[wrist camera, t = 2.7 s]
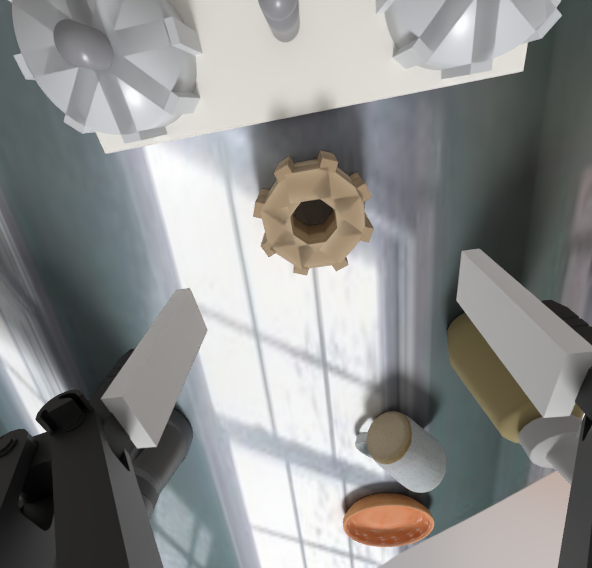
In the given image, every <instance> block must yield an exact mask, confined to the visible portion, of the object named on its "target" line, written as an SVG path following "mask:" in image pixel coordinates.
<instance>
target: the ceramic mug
mask: <svg viewBox="0 0 592 568" xmlns="http://www.w3.org/2000/svg"><path fill="white" fill-rule="evenodd" d="M365 443H367V444H365ZM355 444H356V448H357V449H358V450H359V451H360V452H361V453H363V454H365V455H366V456H368V457H371V458H373V459H374V460H375V462H376V463H377V464H378V465H379V466H380V467H381V468H383V469H384V470H385V471H387V472H388V473H389V474H390V475H391V476H392V477H394V478H395V479H396V480H397V481H398V482H399V483H401V484H402V485H403V486H404V487H406V488H407V489H409V490H411V491H413V492H417V493H424V492H428V491H431V490H432V489H434V488H435V487H436V486H438V485H439V483H440V482H441V481H442V479H443V476H444V474H445V470H446V457H445V453H444V451H443V448H442V446H441V445H440V443H439V442H438V441H437V440H436V439H435V438H434V437H433V436H431V435H430V434H429V433H428V432H426V431H425V430H424V429H423V428H422V427H420V426H419V425H418V424H417V423H415V422H414V421H413V420H412V419H411V418H409V417H408V416H406V415H404V414H402V413H400V412H396V411H389V412H385V413H383V414H381V415H379V416H378V417H377V418H376V419H375V420H374V421H373V422H372V424H371V426H370V428H369V430H368V432H363V433H359V434H358V435H357V438H356V443H355Z"/></svg>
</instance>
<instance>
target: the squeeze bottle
mask: <svg viewBox="0 0 592 568" xmlns="http://www.w3.org/2000/svg"><path fill="white" fill-rule="evenodd" d="M447 339H448V350H449V361H450V364H451V365H452V367H453V368H454V370H455V371H456V372H457V374H458V375H459V377H460V378H461V379H462V381H463V382H464V384H465V385H466V386H467V388H468V389H469V390H470V392H471V393H472V395H473V396H474V397H475V399H476V400H477V402H478V403H479V404H480V406H481V407H482V408H483V410H484V411H485V413H486V414H487V415H488V417H489V418H490V419H491V421H492V422H493V424H494V425H495V426H496V428H497V429H498V431H499V432H500V433H501V435H502V436H503V437H504V438H506V439H508V440H511V441H513V442H516V443H520V444H521V445H522V447H523V449H524V450H525V452H526V453H527V455H528V456H529V458H530V460H531V461H532V463H534V464H536V465H538V466H541V467H546V468H555V469H556V470H557V471H558V472H559V473H560V474H561V475H562V476H563V477H564V478H565V479H566V480H567V481H568V483H570V484H571V485H572V479H573V473H574V466H575V460H576V454H577V448H578V442H579V438H578V437H576V436H575V435H576V433H577V430H578V428H579V426H580V424H581V422H582V417H583V414H584V412H583V411H582V410H581V409H580V407H579V406H578V405H577V404H576V403H575V405H574V408H573V410H572V412H571V414H570V416H562V417H549V418H543V417H542V415H541V414H540V413H539V411H538V410H537V408H536V407H535V406H534V404H533V403H532V402H531V400H530V399H529V398H528V396H527V395H526V394H525V392H524V391H523V390H522V388H521V387H520V386H519V384H518V383H517V382H516V380H515V379H514V378H513V376H512V375H511V373H510V372H509V371H508V369H507V368H506V367H505V365H504V364H503V363H502V361H501V360H500V359H499V357H498V356H497V355H496V353H495V352H494V351H493V349H492V348H491V347H490V345H489V344H488V343H487V341H486V340H485V338H484V337H483V336H482V334H481V333H480V332H479V330H478V329H477V328H476V326H475V325H474V324H473V322H472V321H471V320H470V318H469V317H468V316H467V314H466V313H463V314H461V315H459V316H458V317H457V318H456V319H455V320H454V321H453V322H451V324H450V326H449V328H448V330H447Z"/></svg>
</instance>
